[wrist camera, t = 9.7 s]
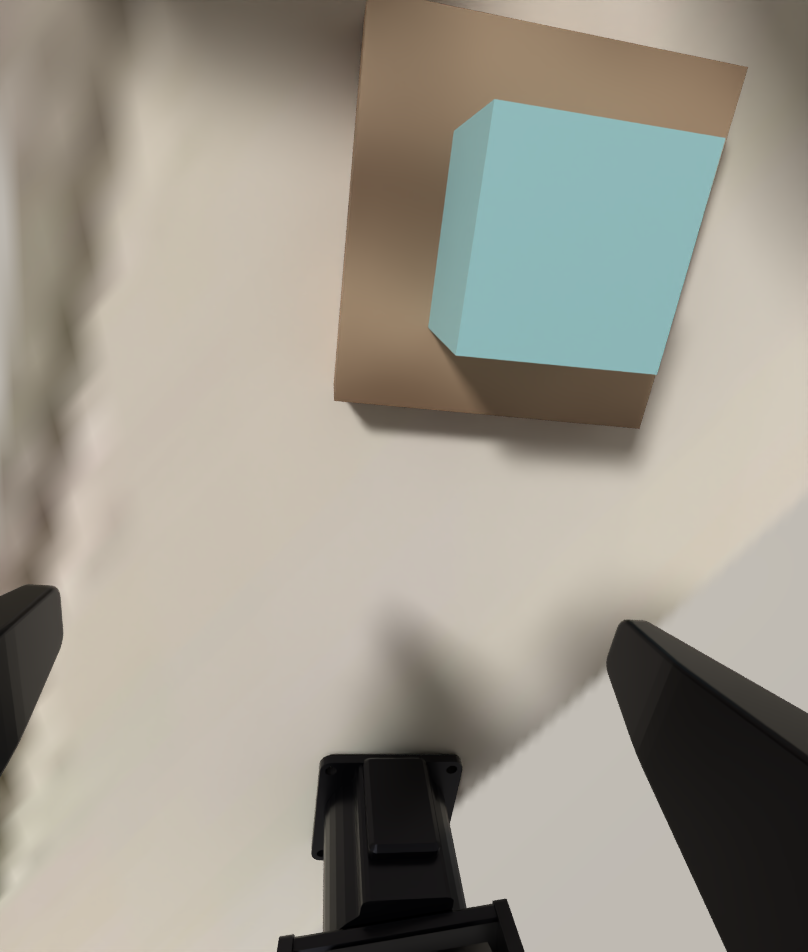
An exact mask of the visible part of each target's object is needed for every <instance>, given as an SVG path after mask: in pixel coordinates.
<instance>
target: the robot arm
mask: <svg viewBox="0 0 808 952" xmlns="http://www.w3.org/2000/svg"><path fill="white" fill-rule="evenodd" d="M62 640H63V623H62V610H61V598H60V593H59V590H58V589H57V588H56V587H55V586H48V585H31V584H28V585H24V586H21V587H19V588H17V589H15V590H13V591H10V592H8V593H6V594H4V595H2V596H0V776H1V775H2V773H3V771H4V769H5V768H6V766H7V764H8V762H9V761H10V759H11V757H12V755H13V753H14V751H15V749H16V748H17V746H18V744H19V742H20V740H21V737H22V735H23V733H24V731H25V729H26V727H27V724H28V722H29V720H30V717H31V715H32V713H33V710H34V708H35V706H36V704H37V701H38V699H39V697H40V694H41V692H42V690H43V687H44V685H45V683H46V680H47V678H48V676H49V673H50V671H51V669H52V667H53V664H54V662H55V660H56V657H57V655H58V653H59V650H60V648H61V644H62ZM606 663H607V672H608V675H609V678H610V681H611V684H612V687H613V689H614V692H615V695H616V698H617V701H618V704H619V707H620V709H621V712H622V715H623V718H624V721H625V724H626V727H627V730H628V733H629V735H630V738H631V741H632V744H633V746H634V748H635V752H636V754H637V756H638V759H639V761H640V763H641V765H642V768H643V770H644V772H645V775H646V777H647V779H648V781H649V783H650V785H651V788H652V790H653V792H654V794H655V796H656V798H657V801H658V803H659V805H660V807H661V809H662V812H663V814H664V816H665V818H666V820H667V822H668V825H669V827H670V829H671V831H672V833H673V835H674V838H675V840H676V842H677V844H678V846H679V848H680V850H681V853H682V855H683V857H684V859H685V861H686V864H687V866H688V868H689V870H690V872H691V874H692V877H693V879H694V881H695V883H696V885H697V887H698V890H699V892H700V894H701V896H702V898H703V900H704V903H705V905H706V907H707V909H708V911H709V914H710V916H711V918H712V919H713V922H714V924H715V927H716V929H717V931H718V933H719V935H720V937H721V940H722V942H723V944H724V946H725V948H726V950H727V952H808V713H806V712H805V711H803V710H801V709H799V708H798V707H796V706H794V705H792V704H791V703H789V702H787V701H785V700H784V699H782V698H780V697H778V696H777V695H775V694H773V693H771V692H770V691H768V690H766V689H764V688H763V687H761V686H759V685H757V684H756V683H754V682H752V681H750V680H749V679H747V678H745V677H744V676H742V675H740V674H738V673H737V672H735V671H733V670H731V669H730V668H727V667H726V666H724V665H722V664H721V663H719V662H717V661H715V660H714V659H712V658H710V657H709V656H707V655H705V654H703V653H702V652H700V651H698V650H696V649H695V648H693V647H691V646H689V645H688V644H685V643H684V642H682V641H681V640H679V639H677V638H675V637H674V636H672V635H670V634H668V633H666V632H665V631H663V630H661V629H660V628H658V627H656V626H654V625H653V624H651V623H649V622H647V621H643V620H623V621H622V622H621V623H620V624H619V625H618V627H617V630H616V633H615V636H614V639H613V642H612V645H611V647H610V650H609V653H608V656H607V662H606ZM330 767H331V768H330ZM461 773H462V764H461V760H460V758H459V757H458V756H457V755H452V754H442V755H330V756H326V757H324V758H323V759H322V760H321V761H320V766H319V776H318V786H317V796H316V807H315V817H314V827H313V837H312V852H311V854H312V857H313V858H314V859H316V860H324V874H323V932H322V933H316V934H310V935H304V936H298V937H295V936H294V934H292V935H286V936H280V937H279V941H278V948H277V952H524V949H523V946H522V943H521V940H520V937H519V934H518V931H517V928H516V925H515V923H514V919H513V916H512V913H511V911H510V908H509V905H508V902H507V899H501V900H495V901H493V903H492V904H489V905H483V906H477V907H471V908H466V903H465V898H464V893H463V888H462V883H461V878H460V873H459V868H458V864H457V858H456V853H455V849H454V843H453V839H452V833H451V828H450V821H451V816H452V812H453V808H454V803H455V799H456V795H457V790H458V786H459V782H460V777H461Z"/></svg>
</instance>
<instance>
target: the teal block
mask: <svg viewBox="0 0 808 952" xmlns="http://www.w3.org/2000/svg"><path fill="white" fill-rule="evenodd" d="M725 139H726V138H722V137H717V136H711V135H705V134H699V133H693V132H687V131H681V130H675V129H669V128H663V127H657V126H651V125H646V124H640V123H634V122H628V121H622V120H616V119H610V118H604V117H598V116H592V115H586V114H580V113H575V112H569V111H563V110H557V109H551V108H545V107H539V106H533V105H527V104H521V103H515V102H509V101H504V100H498V99H494V100H493V101H491V102H490V103H489V104H487V105H486V106H485V107H484V108H482V109H481V110H480V111H479V112H477V113H476V114H475V115H473V116H472V117H471V118H470V119H468V120H467V121H466V122H465V123H463V124H462V125H461V126H459V127H458V128H457V129H456V130H454V133H453V141H452V149H451V156H450V164H449V172H448V179H447V187H446V195H445V202H444V210H443V218H442V225H441V233H440V241H439V248H438V256H437V264H436V271H435V279H434V287H433V294H432V302H431V310H430V317H429V325H428V328H429V329H430V330H431V331H432V332H433V333H434V334H435V335H436V336H437V337H438V338H439V339H440V340H441V341H442V342H443V343H444V344H445V345H446V346H447V347H448V348H449V349H450V350H451V351H452V352H453V353H454V354H455V355H456V356H466V357H477V358H487V359H498V360H508V361H518V362H529V363H539V364H550V365H560V366H571V367H581V368H592V369H602V370H612V371H623V372H633V373H644V374H654V375H657V373H658V369H659V366H660V362H661V359H662V356H663V352H664V349H665V345H666V342H667V338H668V335H669V332H670V328H671V325H672V321H673V318H674V314H675V311H676V307H677V304H678V301H679V297H680V294H681V290H682V287H683V283H684V280H685V277H686V273H687V270H688V266H689V263H690V259H691V256H692V252H693V249H694V246H695V242H696V239H697V235H698V232H699V228H700V225H701V222H702V218H703V215H704V211H705V208H706V204H707V201H708V197H709V194H710V191H711V187H712V184H713V180H714V177H715V173H716V170H717V167H718V163H719V160H720V156H721V153H722V149H723V146H724V142H725Z"/></svg>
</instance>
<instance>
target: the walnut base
mask: <svg viewBox="0 0 808 952" xmlns="http://www.w3.org/2000/svg"><path fill="white" fill-rule="evenodd" d="M747 69H748V67H744V66H739V65H735V64H730V63H725V62H720V61H715V60H710V59H706V58H701V57H696V56H691V55H686V54H682V53H677V52H672V51H667V50H662V49H657V48H653V47H648V46H643V45H638V44H633V43H628V42H624V41H619V40H614V39H609V38H604V37H600V36H595V35H590V34H585V33H580V32H575V31H571V30H566V29H561V28H556V27H551V26H547V25H542V24H537V23H532V22H527V21H522V20H518V19H513V18H508V17H503V16H498V15H493V14H489V13H484V12H479V11H474V10H469V9H465V8H460V7H455V6H450V5H445V4H440V3H436V2H431V1H426V0H367V2H366V8H365V14H364V23H363V35H362V47H361V59H360V72H359V84H358V96H357V108H356V120H355V132H354V145H353V157H352V169H351V181H350V193H349V205H348V218H347V230H346V242H345V254H344V266H343V278H342V291H341V303H340V315H339V327H338V339H337V351H336V364H335V376H334V401H342V402H353V403H364V404H375V405H386V406H397V407H408V408H419V409H430V410H441V411H452V412H463V413H474V414H484V415H495V416H506V417H517V418H528V419H539V420H550V421H561V422H572V423H583V424H594V425H605V426H616V427H627V428H638V429H639V428H640V425H641V422H642V418H643V415H644V412H645V408H646V405H647V402H648V398H649V395H650V392H651V388H652V385H653V382H654V378H655V375H654V374H644V373H633V372H623V371H612V370H602V369H592V368H581V367H571V366H560V365H550V364H539V363H529V362H518V361H508V360H498V359H487V358H477V357H466V356H456V355H455V354H454V353H453V352H452V351H451V350H450V349H449V348H448V347H447V346H446V345H445V344H444V343H443V342H442V341H441V340H440V339H439V338H438V337H437V336H436V335H435V334H434V333H433V332H432V331H431V330H430V329H429V328H428V325H429V317H430V310H431V302H432V294H433V287H434V279H435V271H436V264H437V256H438V248H439V241H440V233H441V225H442V218H443V210H444V202H445V195H446V187H447V179H448V172H449V164H450V156H451V149H452V141H453V133H454V130H456V129H457V128H458V127H459V126H461V125H462V124H463V123H465V122H466V121H467V120H468V119H470V118H471V117H472V116H473V115H475V114H476V113H477V112H479V111H480V110H481V109H482V108H484V107H485V106H486V105H487V104H489V103H490V102H491V101H493V100H494V99H498V100H504V101H509V102H515V103H521V104H527V105H533V106H539V107H545V108H551V109H557V110H563V111H569V112H575V113H580V114H586V115H592V116H598V117H604V118H610V119H616V120H622V121H628V122H634V123H640V124H646V125H651V126H657V127H663V128H669V129H675V130H681V131H687V132H693V133H699V134H705V135H711V136H717V137H722V138H726V139H727V136H728V132H729V129H730V126H731V122H732V119H733V116H734V112H735V109H736V106H737V102H738V99H739V96H740V92H741V89H742V86H743V82H744V79H745V76H746V72H747ZM726 139H725V142H726ZM725 142H724V146H725ZM724 146H723V149H724ZM723 149H722V152H723ZM721 156H722V153H721ZM721 156H720V159H721ZM719 162H720V160H719ZM718 166H719V163H718ZM717 169H718V167H717ZM716 172H717V170H716ZM715 176H716V173H715ZM714 179H715V177H714ZM713 182H714V180H713ZM712 185H713V184H712ZM711 189H712V187H711ZM710 192H711V191H710ZM709 195H710V194H709ZM708 199H709V197H708ZM707 202H708V201H707ZM706 205H707V204H706ZM705 209H706V208H705ZM704 212H705V211H704ZM702 219H703V218H702ZM699 229H700V228H699Z"/></svg>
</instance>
